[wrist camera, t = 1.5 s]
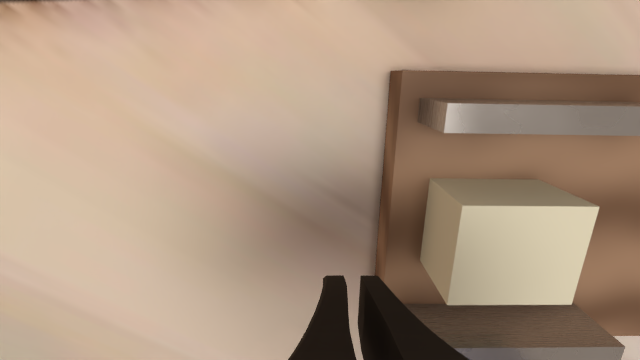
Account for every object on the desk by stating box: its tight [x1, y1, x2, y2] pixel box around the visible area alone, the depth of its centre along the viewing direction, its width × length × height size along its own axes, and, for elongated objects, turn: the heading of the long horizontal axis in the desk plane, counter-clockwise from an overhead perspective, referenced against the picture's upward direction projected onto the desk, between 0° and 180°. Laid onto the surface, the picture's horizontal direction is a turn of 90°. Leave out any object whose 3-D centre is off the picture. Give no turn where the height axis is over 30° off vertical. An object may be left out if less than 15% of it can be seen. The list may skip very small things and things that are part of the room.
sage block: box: [420, 178, 599, 305], centre depth 17 cm, size 5×6×4 cm
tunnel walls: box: [404, 98, 640, 360], centre depth 17 cm, size 13×11×4 cm
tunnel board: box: [375, 70, 640, 336], centre depth 20 cm, size 16×31×2 cm, turn 89°
